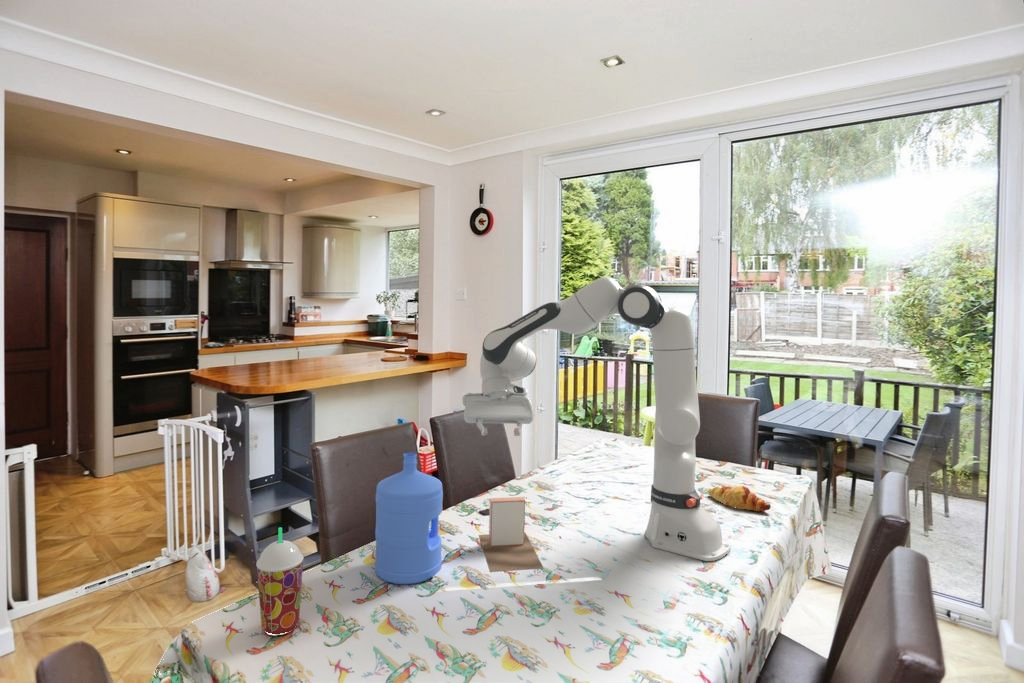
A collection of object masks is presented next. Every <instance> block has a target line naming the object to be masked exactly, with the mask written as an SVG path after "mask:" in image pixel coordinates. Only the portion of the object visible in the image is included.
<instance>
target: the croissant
mask: <svg viewBox="0 0 1024 683" xmlns="http://www.w3.org/2000/svg"><path fill="white" fill-rule="evenodd" d="M707 492H708V495H709V496H710V497H711V498H712V499H714V500H715V501H717V502H718V501H719V502H718V503H720V502H721V503H720V504H722V503H723V504H722V505H724V504H725V505H724V506H726V505H729V506H728V507H731V506H733V507H736V508H735V509H737V508H741V509H740V510H744V509H747V511H750V510H754V511H753V512H760V511H762V512H766V511H768V510H770V509H771V504H770V503H768V502H766V501H765V500H764V499H762V498H760V497H759V496H757V495H756V493H754V492H752V491H751V490H750V488H748V487H746V486H743V485H736V486H734V487H733V486H729V485H728V486H727V485H726V486H722V487H713V488H709V489H708V490H707ZM733 507H732V508H733Z"/></svg>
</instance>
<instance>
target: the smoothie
mask: <svg viewBox="0 0 1024 683" xmlns="http://www.w3.org/2000/svg"><path fill="white" fill-rule="evenodd" d="M277 531H278V532H277V534H278V539H277V541H273V542H272V543H270V544H269V545H267V546H266V547H265V548H264V549H263V551H262V552H261V554H260V556H259V558H258V560H257V561H256V566H255V567H257V568H256V571H257V572H256V573H257V585H258V598H259V609H260V610H259V612H260V624H261V625H260V626H261V628H262V629H263V631H264V630H265V631H266V632H268V633H272V634H280V633H285V632H289V631H291V630H293V629H294V628H295V626H296V627H297V625H296V624H299V621H300V617H301V616H300V612H301V601H302V597H301V596H302V586H303V585H302V581H303V567H304V554H303V553H302V552H301V551H300V548H299V547H298V546H297V545H296V544H295V543H294V542H292V541H289V540H284V539H283V528H282V527H278V530H277ZM295 629H296V628H295ZM295 629H294V630H295ZM294 630H293V631H294ZM265 631H264V632H265Z"/></svg>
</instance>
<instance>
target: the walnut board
mask: <svg viewBox="0 0 1024 683" xmlns="http://www.w3.org/2000/svg"><path fill="white" fill-rule="evenodd" d="M478 538H479V541H480V544H481V547H482V550H483V553H484V557H485V560H486V563H487V566H488V569H489V572H490V573H493V572H494V573H495V572H512V571H524V570H540V569H541V570H542V569H544V566H543V564H542V562H541V560H540V559H539V556H538V554H537V553H536V550H535V549H534V546H533V544H532V543H531V541H530V539H529V537H528V534H527V533H526V532H524V545H512V546H495V547H490V545H489V533H488V534H478Z"/></svg>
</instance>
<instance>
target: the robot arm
mask: <svg viewBox="0 0 1024 683" xmlns="http://www.w3.org/2000/svg"><path fill="white" fill-rule="evenodd" d="M662 302H663V301H662V299H661V296H660V295H659V293H657V291H656V289H654V288H652V287H651V286H648V285H644V284H635V285H630V286H628V287H627V288H623V287H622V286H621V285H620V284H619V282H617V280H615V279H613V278H611V277H609V276H602V277H599V278H598V279H595V280H594V281H592V282H590V283H588V284H587V285H585V286H583V287H582V288H580V289H578V290H577V291H575V293H573V294H572V295H570V296H568V297H567V298H564V299H562V300H559V301H553V302H547V303H545V304H542V305H540V306H539V307H537V308H535V309H534V310H533V309H532V311H529V312H528V313H526V314H524V315H523V316H521V317H519V318H518V319H516V320H514V321H512V322H510V323H509V324H507V325H505V326H502V327H500V328H497V329H495V330H493V331H491V332H488V334H487V335H486V336H485V338H484V340H483V342H482V350H481V351H482V353H481V356H480V360H479V371H480V378H481V381H482V382H481V392H480V393H478V392H476V393H475V392H474V393H472V392H468V393H467V394H464V395H463V396H462V404H463V406H464V411H463V412H464V413H463V420H464V421H465V423H467V424H476V427H477V428H478V430H480V433H481V436H482V437H484V436H485V437H487V436H488V433H489V432H488V427H485V426H484V425H483V424H504V425H505V424H508V425H509V424H511V425H512V424H514V425H516V427H515V428H514V430H513V436H514V437H520V436H521V428H522V427H523V425H525V424H526V425H530V424H531V423H532V422H533V421H534V418H535V411H534V407H533V404H532V400H531V399H530V398H529V397H528V389H527V388H525V387H523V386H519V385H516V384H513V383H512V382H516V381H518V380H519V381H520V380H521V379H524V378H526V377H528V376H530V375H531V374H532V373H533V372H534V371H535V368H536V366H537V355H536V353H535V352H534V351H533V350H532V349H531V348H529V346H526V345H525V344H524V343H523V342H522V341H524V340H525V339H527V338H528V337H531V336H532V335H534V334H535V333H538V332H539V331H543V330H548V329H549V330H556V331H560V332H564V333H567V334H570V335H582V334H585V333H587V332H589V331H590V330H592V329H594V328H595V327H596V326H598V325H599V324H601V323H602V322H603V321H605V320H606V319H607V318H609V317H610V316H613V315H619V316H620V317H621V319H622V320H624V321H625V322H626V323H628V324H630V325H633V326H636V327H641V328H644V329H645V328H646V329H649V331H650V334H651V339H652V340H651V343H652V361H653V362H652V364H653V379H654V382H653V384H654V398H655V399H654V400H655V415H654V418H655V419H654V420H655V421H654V451H653V452H654V454H653V455H654V456H653V478H652V480H653V481H652V484H651V488H650V489H651V490H650V503H651V504H650V512H649V518H648V523H647V526H646V528H645V533H644V536H645V537H646V539H647V540H648V541H649V542H650V546H651V547H653V548H656V549H660V550H663V551H666V552H670V553H674V554H678V555H681V556H686V557H689V558H692V559H696V560H697V559H698V560H701V561H704V562H712V561H713V562H714V561H717V560H720V559H723V558H724V557H725V555H726V554H727V555H728V554H729V553H730V552H729V551H731V544H730V542H728V541H727V540H724V539H723V536H722V535H723V534H722V529H721V525H720V524H719V522H718V521H717V520H716V519H715V518H714V517H712V515H711V514H710V513H709V512H707V510H706V509H705V508H704V507H703V506H702V505H701V500H703V499H704V497H703V496H704V494H703V493H702V494H700V495H699V494H698V493H697V490H696V488H695V483H696V482H695V481H696V464H697V460H696V458H697V456H696V437H697V435H698V434H699V432H700V427H701V419H700V418H701V417H700V406H699V395H698V394H699V392H698V385H697V384H698V383H697V374H696V371H697V370H696V350H695V337H694V331H693V324H692V321H691V318H690V315H689V313H688V312H687V311H686V310H684V309H682V308H677V307H666V306H664V304H663V303H662ZM727 555H726V556H727ZM723 556H724V557H723Z"/></svg>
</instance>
